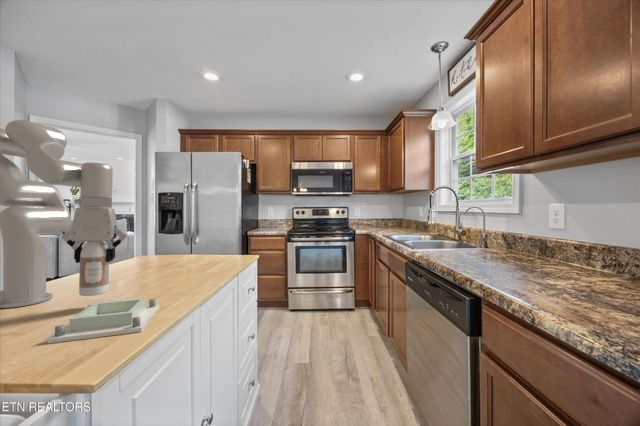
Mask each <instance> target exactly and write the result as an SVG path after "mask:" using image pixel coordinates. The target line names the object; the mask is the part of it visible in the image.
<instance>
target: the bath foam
mask: <svg viewBox="0 0 640 426" xmlns="http://www.w3.org/2000/svg"><path fill="white" fill-rule="evenodd" d="M82 248H83V249H82V251H81V254H80V262H79V277H78V279H79V280H78V281H79V284H78V287H79V288H78V289H79V290H78V291H79V292H78V293H79V295H80V296H83V297H91V296H92V297H94V296H98V295H102V294H106V293H107V292H109V288H110V287H109V283H110V262H107V249H109V247H108V245H107V243H106V242H105V241H86V242H85V244H84V245H83V246H82Z"/></svg>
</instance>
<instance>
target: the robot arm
mask: <svg viewBox="0 0 640 426" xmlns="http://www.w3.org/2000/svg"><path fill="white" fill-rule="evenodd" d="M67 144H68V139H67V137H66V135H65V134H64V133H63V132H62V131H61V130H60V129H58V128H55V127H52V126H49V125H45V124H42V123H41V124H40V123H37V122H33V121H30V120H23V119H16V120H12V121H10V122H8V123H7V124H6V126H5V128H0V206H3V207H6V208H4V209H3V210H1V211H0V233H1V239H2V256H3V257H2V268H3V269H2V270H3V271H2V277H3V279H2V280H3V281H2V287H3V288H2V289H3V290H0V309H8V308H9V309H11V308H18V307H19V308H20V307H25V306H31V305H36V304H39V303H43V302H47V301H49V300H51V299H53V298H54V297H53V296H54V295H53V293H51V292H47V248H46V244H45V243H44V241H43V240H42V239H41V238H40V236H39V235H41V234H57V233H64V232H65V233H64V234H62V235H61V238H62V240H64V241H65V242H66V243H67V245H69V246H70V247H71V249H73V251H74V252H73V258H74V260H75V263H76V264H80V254H81V251H82V249H83V247H84V245H85V244H86V242H88V241H103V242H104V243H105V244H106V246H107V247H108V249H107V262H109V263H111V262H113V261H114V260H115V258H116V248H117V247H118V246H120V244H122V242H124V240H126V238H128V235H127V234H126V233H125V232H123V231H122V230H120V229H119V228H118V224H117V223H118V222H117V215H116V211H115V208H113V206H112V205H113V177H114V175H113V170H114V169H113V167H112V166H111V165H109V164H107V163H100V162H93V161H92V162H90V161H89V162H88V161H87V162H84V163H79V162H75V161H74V162H73V161H68V160H63V159H62V158H63V156H64V154H65V149H66V147H67ZM5 155H6V156H7V155H8V156H13V157H18V158H25V159H26V164H27V165H26V166H27V168H28V170H29V171H30V172H31V174H33V175H34V176H35V177H36V178H38V179H39V180H32V179H31V180H30V179H28V178H26V177H25V176H24V175H23V173H22V171H21V169H20V167H19V166H18V165H16V163H14V162H13V161H12V160H11V159H9V158H7V157H6V156H5ZM56 186H62V187H73V188H80V189H79V190H80V192H79V194H80V195H79V196H80V197H79V198H77V199H74V201H73V202H74V204H77V205H78V206H79V207H76V208H75V210H74V213H73V219H72V216H71V213H70V210H69V208H68V206H67V205H66V203H65V201H64V199H63V197H62V195H61V193H60V191H59V190H58V188H57V187H56ZM71 225H72V226H71ZM70 227H71V229H70ZM68 229H70V230H69V231H68ZM66 231H67V232H66ZM117 236H118V239H117V240H115V239H116V238H117Z"/></svg>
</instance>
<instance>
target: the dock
mask: <svg viewBox="0 0 640 426" xmlns="http://www.w3.org/2000/svg"><path fill="white" fill-rule="evenodd" d="M159 309H160V304H157V303H156V298H151V299H149V301H148V305H147V298H146V297H144V298H134V299H131V298H130V299H123V300H121V299H120V300H110V301H109V300H108V301H101V302H93V303H91V304H89V305H87V307H86V308H85V309H83V310H82V311H80V312H79V313H77V314H76V315H74V316H72V317H71V318H69V324H67V325H65V324H59V325H56V326H55V327H54V334H52V335H51V336H50V337H48V338H47V339H46V341H47V344H55V343H62V342H69V341H71V342H72V341H79V340H86V339H94V338H103V337H111V336H118V335H124V334H133V333H141V332H143V331H144V329H145V328H146V327H147V326H148V324H149V322H150V321H151V319H152V318H153V317H154V315H155V314H156V313H157V311H158V310H159Z"/></svg>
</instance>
